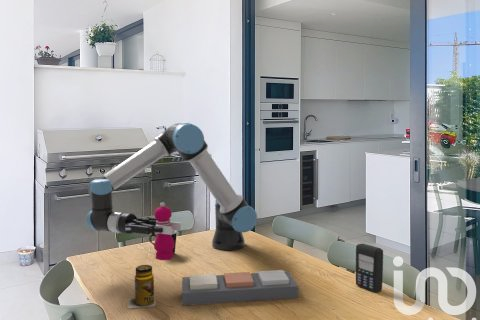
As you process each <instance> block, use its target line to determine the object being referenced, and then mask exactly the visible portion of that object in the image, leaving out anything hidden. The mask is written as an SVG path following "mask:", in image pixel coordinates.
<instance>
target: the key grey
mask: <svg viewBox="0 0 480 320" xmlns="http://www.w3.org/2000/svg"><path fill="white" fill-rule="evenodd" d="M257 273H258V278H259V281H260V283H261V285H262V286H266V285H282V284H289V279H288V277H287V275H286V274H285V272H284V269H278V270H277V269H276V270H261V271H260V270H259V271H257Z"/></svg>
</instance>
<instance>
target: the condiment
mask: <svg viewBox="0 0 480 320" xmlns="http://www.w3.org/2000/svg"><path fill="white" fill-rule="evenodd" d="M154 279H155V277H154V274H153V266H152V265H149V264H141V265H137V266H136V267H135V276H134V297H133V298H128V309H139V308H148V307H156V305H157V303H156V296H155V280H154Z"/></svg>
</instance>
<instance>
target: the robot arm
mask: <svg viewBox="0 0 480 320" xmlns="http://www.w3.org/2000/svg"><path fill="white" fill-rule="evenodd" d="M208 145H209V144H208V143H207V142H206V140H205V136H204V132H203V131H202V130H201V128H200V127H198V126H197V125H195V124H193V123H189V122H185V123H180V122H179V123H175V124H174V123H173V124H172V125H170V126H169V127H168V128H166V129H165V130H164V131H162V132H161V133H160V134H158V135H156V136H155V137H154V140H153V141H152V142H151V143H149V144H148V145H146V146H145V147H143V148H141V149H140V150H139V151H137V152H136V153H134V154H132V155H131V156H130V157H128V158H127V159H125V160H124V161H123V162H120V163H119V164H117V165H116V166H115V167H113V168H111V169H110V170H109V171H107V172H106V173H104V174H103V175H102V176H100V177H98V178H97V179H94V180H91V181H90V182H89V183H88V186H87V193H88V195H89V197H90V198H91V210H90V211H89V212H88V213H87V214H86V218H85V224H86V226H87V228H89V229H91V230H95V231H97V232H98V231H99V232H110V233H111V232H112V233H116V234H126V235H127V234H128V235H132V234H133V233H134V234H142V235H156V234H157V233H161V234H169V235H172V230H175V231H182V222H179V221H170V224H169V226H163V225H156V223H157V222H156V221H157V219H156V218H155V217H150V216H147V217H146V218H142V217H137V216H136V214H135V213H130V212H122V211H114V210H113V208H114V207H113V191H115V190H116V189H118V188H119V187H120V186H122V185H123V184H125V183H127V182H128V181H129V180H131V179H133V177H135V176H137V175H138V174H140V173H141V172H143V171H144V170H145V169H147V168H148V167H150V166H151V165H153V164H155V163H156V162H158V161H159V160H160V159H162V158H163V157H164V156H165V157H169V156H170V155H172V154H173V153H176V152H177V153H178V154H179V155H180V158H181V159H182V160H183V162H185V163H189V164H191V166H192V168H193V169H194V171H195V172H196V173H197V175H198V176H199V177H200V179H201V180H202V182H203V183H204V185H205V186H206V188H207V189H208V190H209V192H210V193H211V195H212V197H213V198H214V199H215V201H214V202H215V204H214V207H215V208H214V209H215V210H214V211H215V215H214V216H215V231H214V235H213V238H212V242H211V243H212V244H211V246H212V247H213V248H214V249H217V250H223V251H234V250H240V249H242V248H244V247H245V246H246V244H245V242H246V241H245V237H244V235H243V233H247V232H250V231H251V230H252V229H254V228H255V226H256V224H257V220H258V215H257V212H256V210H255V208H253V207H252V206H251V205H249V204H248V203H247V201H246V199H245V198H244V197H243V196H242V195H240V194H237V193H236V191H235V189H234V188H233V187H232V185H231V183H230V182H229V181H228V179H227V178H226V176H225V175H224V174H223V172H222V170H221V169H220V168H219V166H218V165H217V164H216V162H215V160H214V158H212V156H211V154H210V153H209V151H208V147H209V146H208Z"/></svg>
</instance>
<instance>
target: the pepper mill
mask: <svg viewBox="0 0 480 320" xmlns="http://www.w3.org/2000/svg"><path fill="white" fill-rule="evenodd" d="M159 205H160V206H159V207H157V208H156V209H155V211H154V215H153V216H154V218H156V219H157V221H156V222H157V223H156V225H163V226H169V224H170V222H171V217H172V210H171V208H170V207H168V206H166V203H165V202H163V201H162V202H160V203H159ZM156 235H157V237H155V239H154V242H153V243H154V245H153V248H154V250H155V251H156V252H155V259H156V260H158V261H168V260H172V259H174V256H175V255H174V253H173V251H172V250H173V249H174V246H175V245H174V240H173V238H172V236H171V235H169V234H161V233H156ZM175 247H176V246H175Z"/></svg>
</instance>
